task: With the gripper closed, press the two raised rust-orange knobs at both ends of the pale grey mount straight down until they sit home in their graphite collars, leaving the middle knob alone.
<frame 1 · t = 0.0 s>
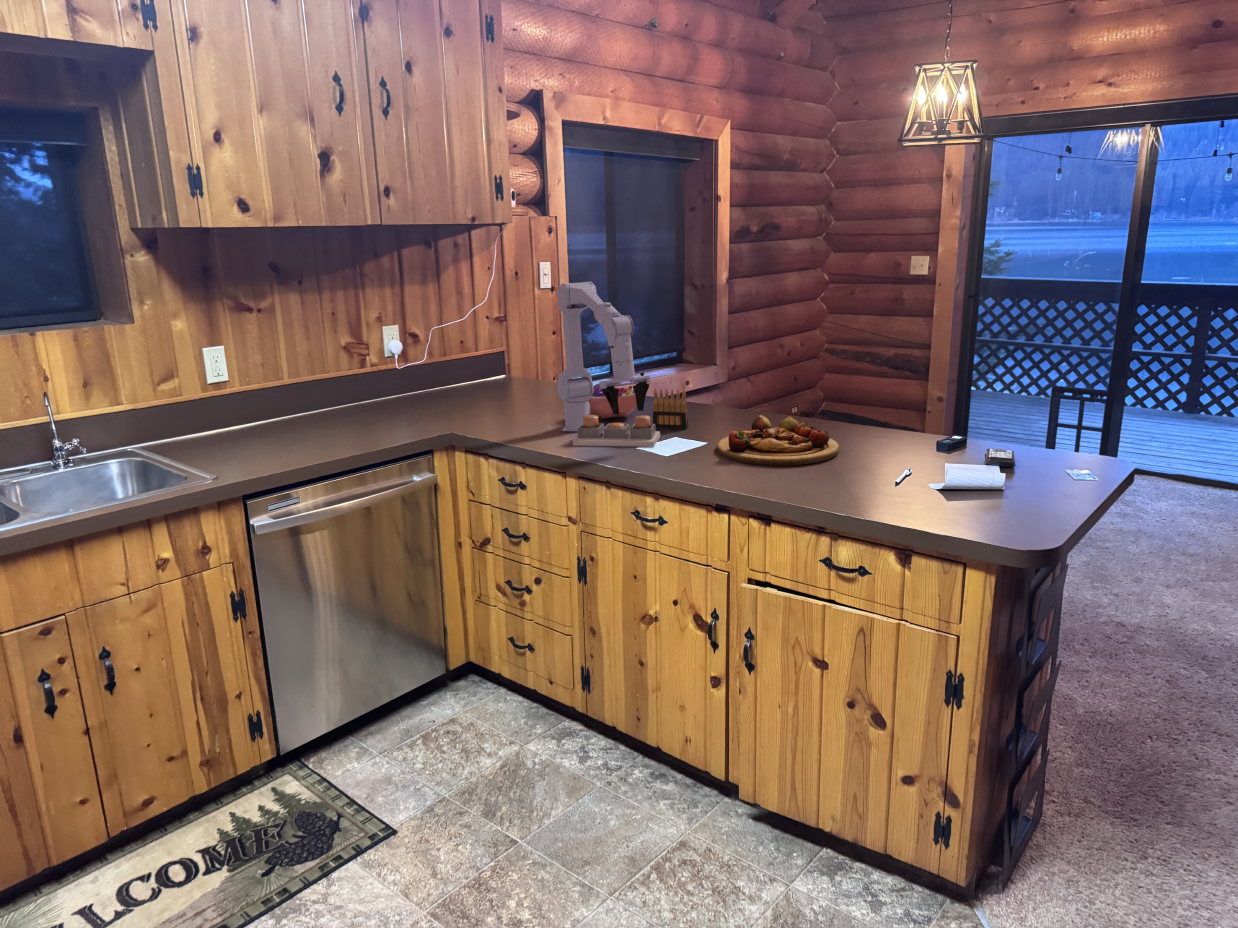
hand: (628, 412, 231), 11 cm above the worktop, tool pointing down, fingers open, 7 cm apart
wooden plate with food: (777, 452, 229), on the worktop
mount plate: (617, 440, 245), on the worktop
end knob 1: (642, 422, 242), point 5 cm above the worktop, slide at 2.2 cm
cell model: (610, 418, 275), on the worktop
ammunition clip: (670, 428, 259), on the worktop
end knob 2: (590, 422, 245), point 5 cm above the worktop, slide at 2.2 cm
centre knob: (616, 429, 244), point 3 cm above the worktop, slide at 0.0 cm
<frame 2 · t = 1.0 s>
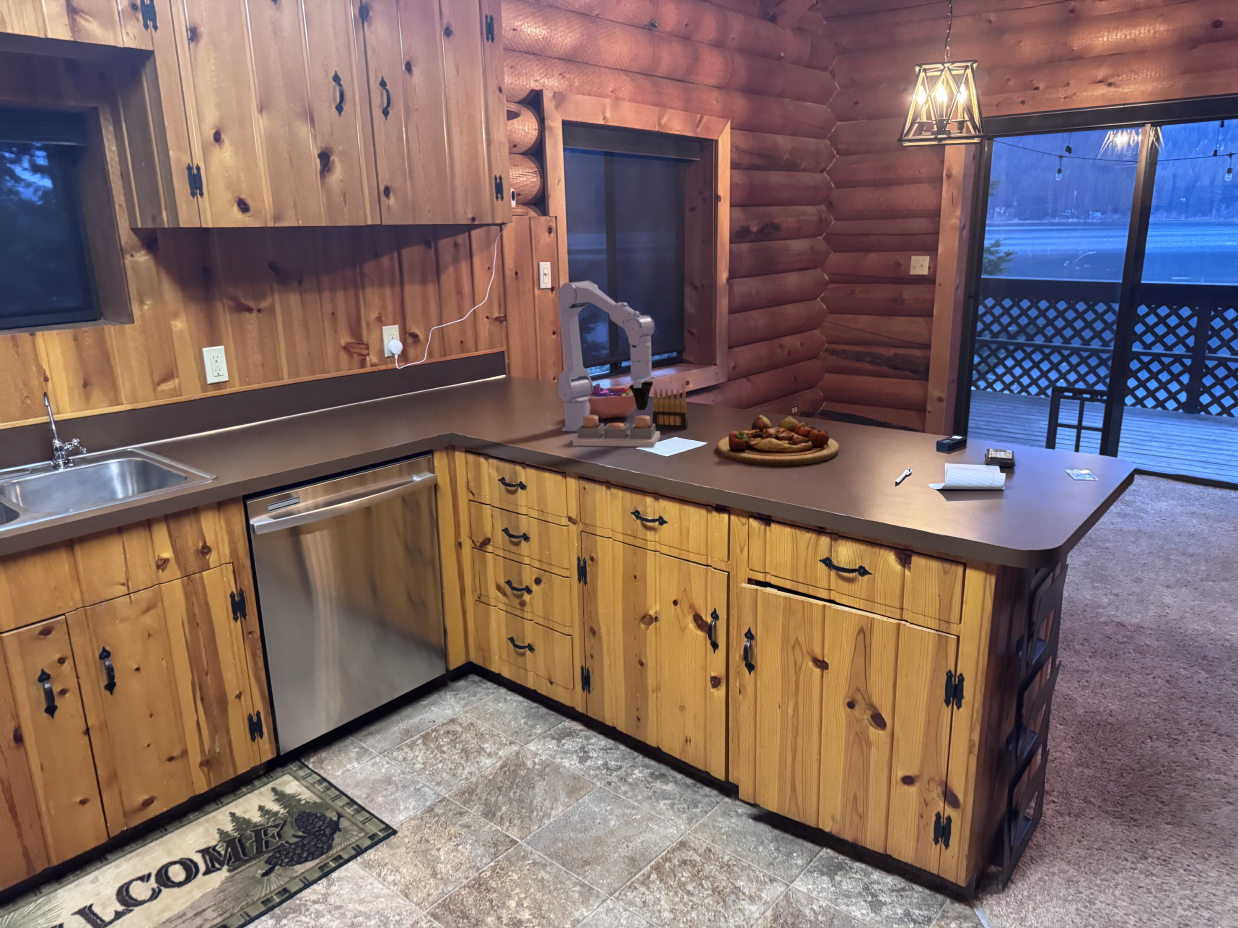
hand: (642, 408, 241), 9 cm above the worktop, tool pointing down, fingers closed
nothing on the worktop moved.
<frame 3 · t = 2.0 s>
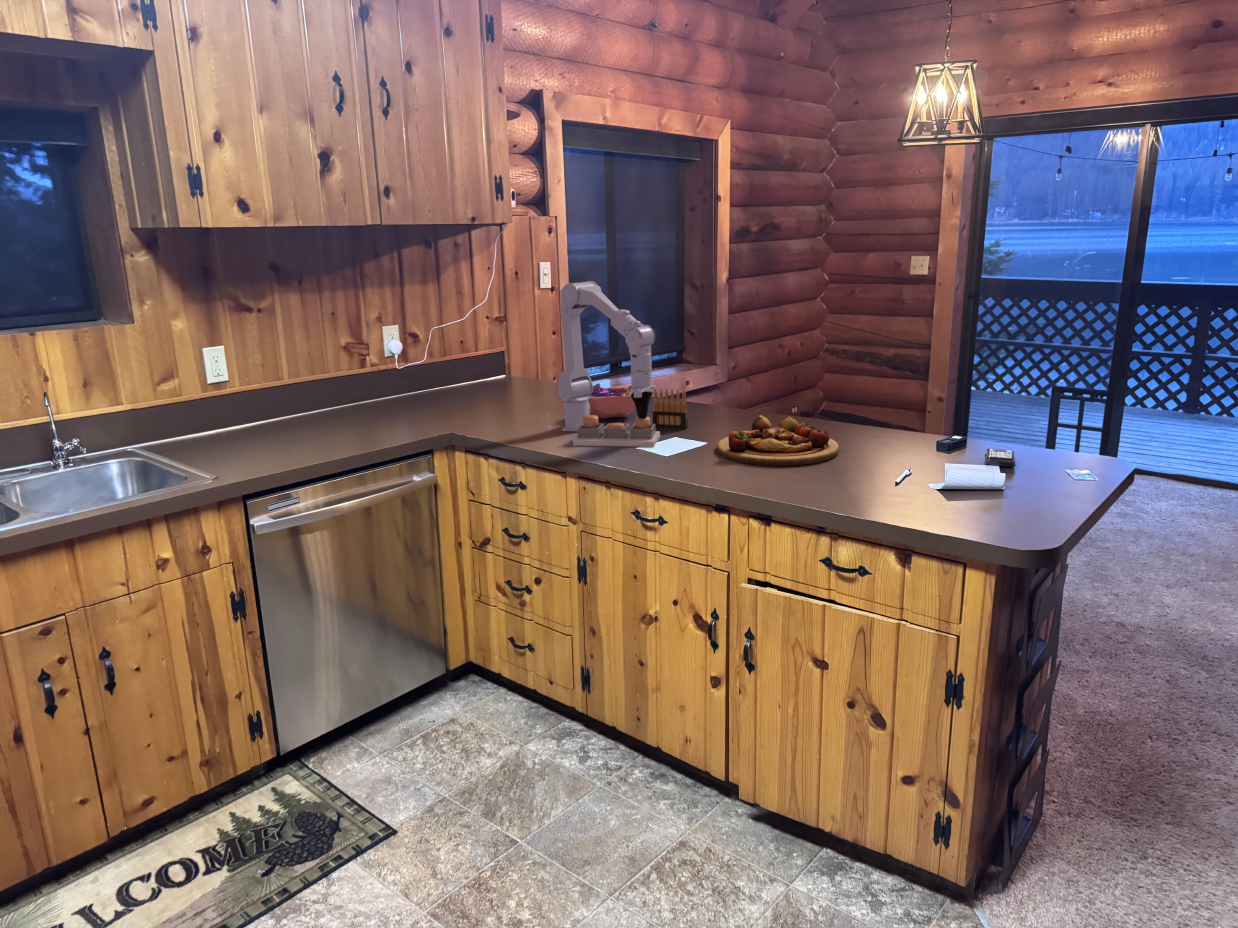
hand: (642, 418, 242), 7 cm above the worktop, tool pointing down, fingers closed, pressing on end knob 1
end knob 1: (642, 423, 242), point 5 cm above the worktop, slide at 1.9 cm, touching gripper
everything else where it was.
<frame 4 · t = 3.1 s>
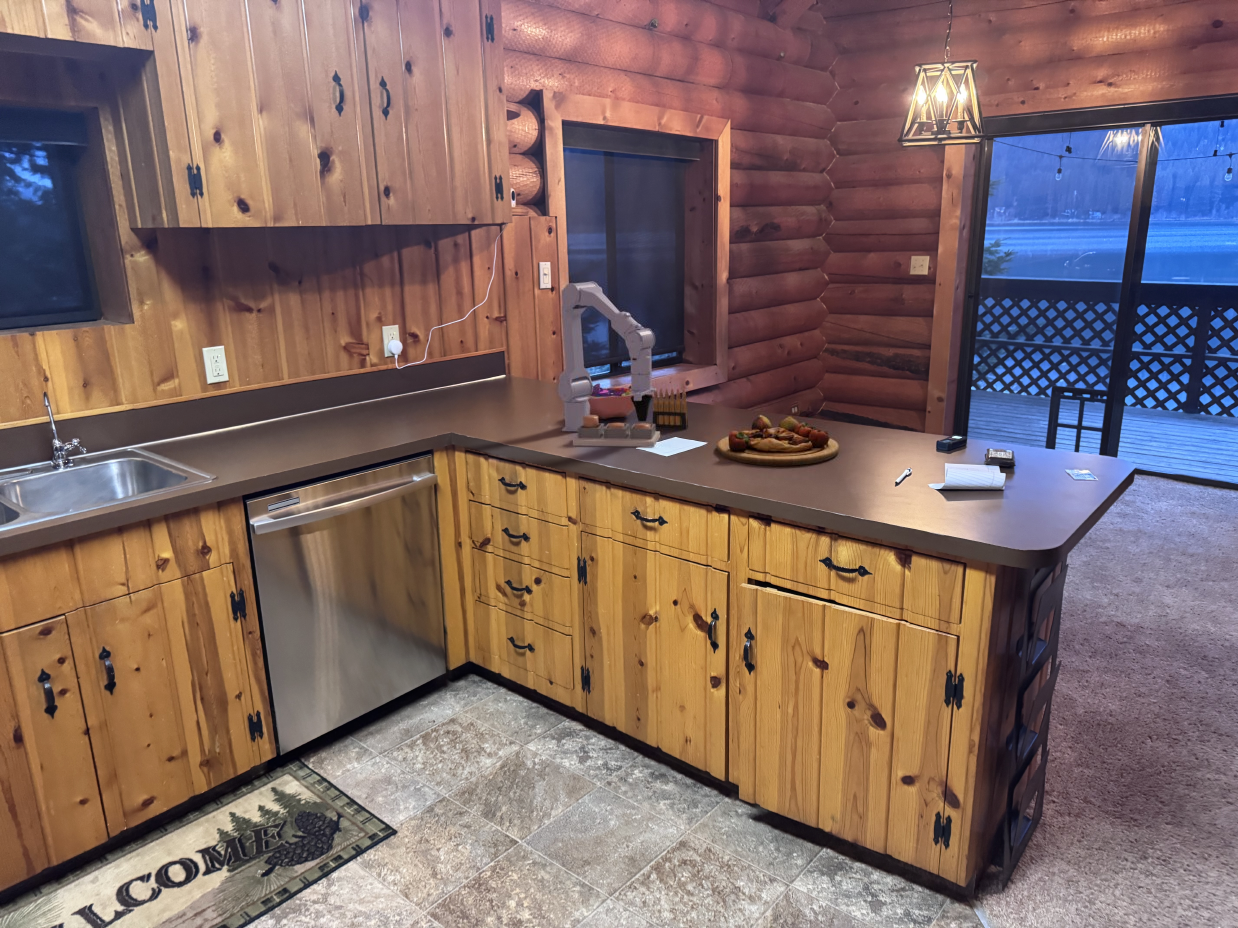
hand: (642, 421, 242), 6 cm above the worktop, tool pointing down, fingers closed
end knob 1: (642, 430, 243), point 3 cm above the worktop, slide at -0.1 cm, touching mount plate
everything else where it was.
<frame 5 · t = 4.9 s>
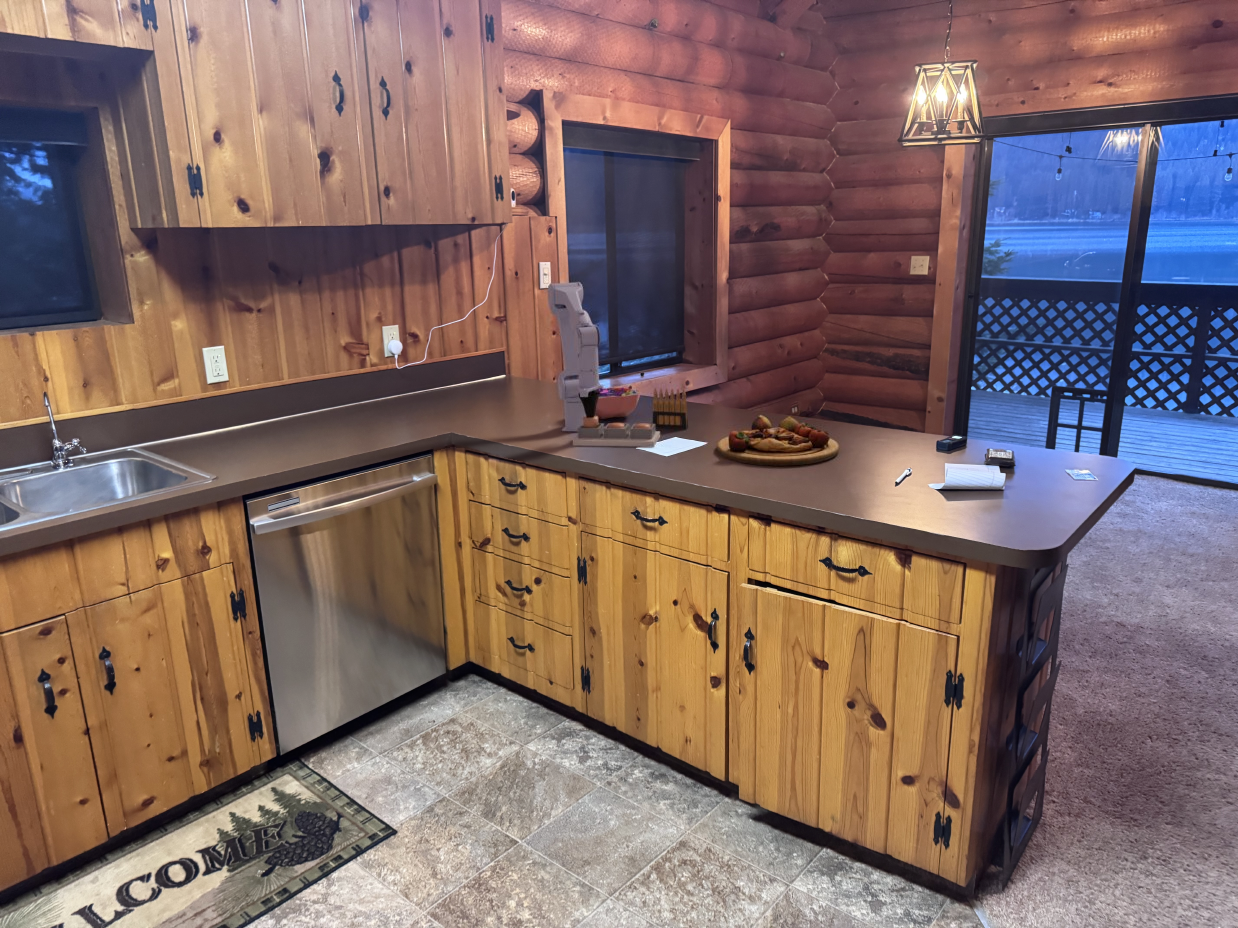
hand: (590, 417, 244), 7 cm above the worktop, tool pointing down, fingers closed, pressing on end knob 2
end knob 2: (590, 422, 245), point 5 cm above the worktop, slide at 2.0 cm, touching gripper
everything else where it was.
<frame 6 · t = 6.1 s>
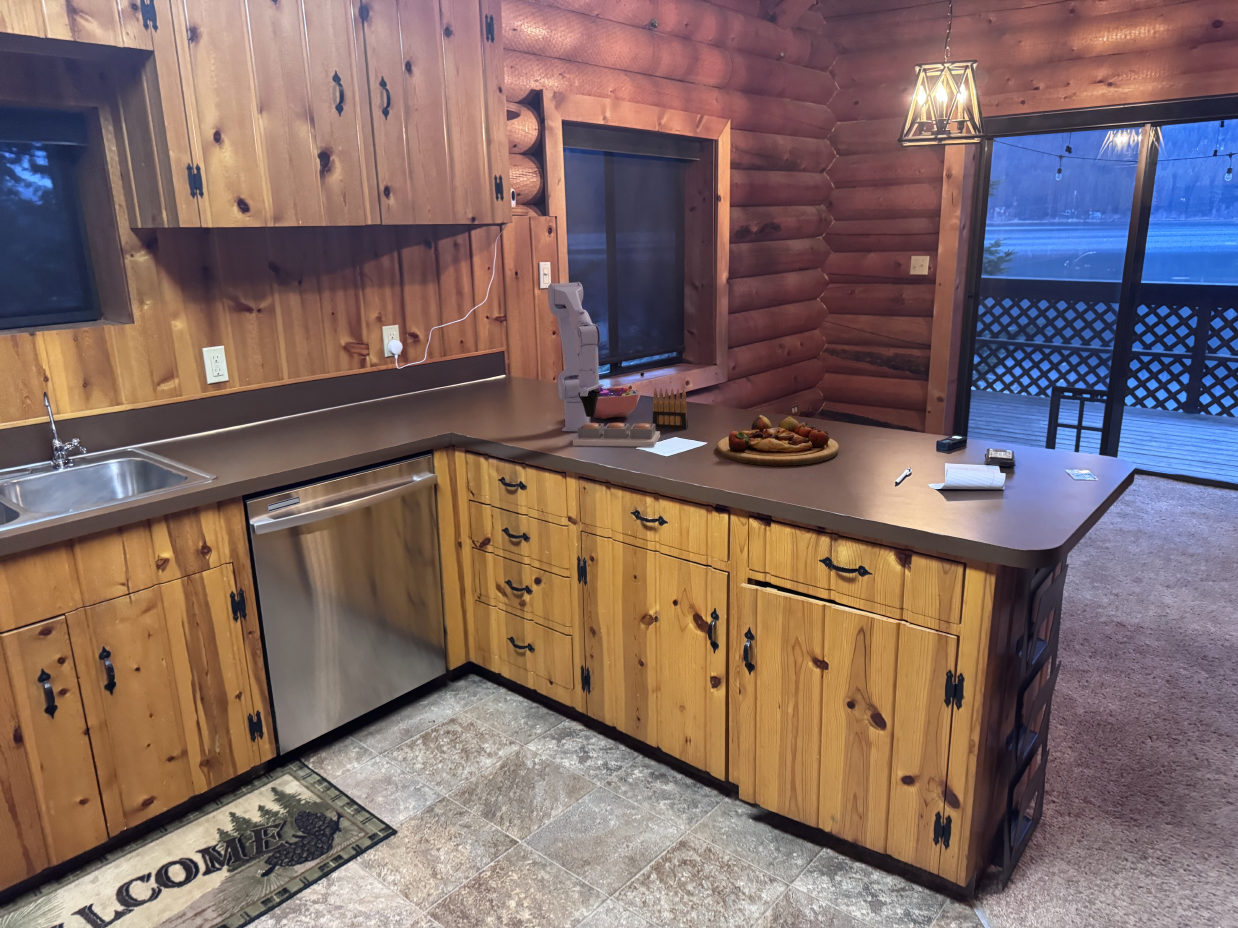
hand: (590, 416, 244), 7 cm above the worktop, tool pointing down, fingers closed
end knob 2: (591, 430, 245), point 3 cm above the worktop, slide at -0.1 cm, touching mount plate
everything else where it was.
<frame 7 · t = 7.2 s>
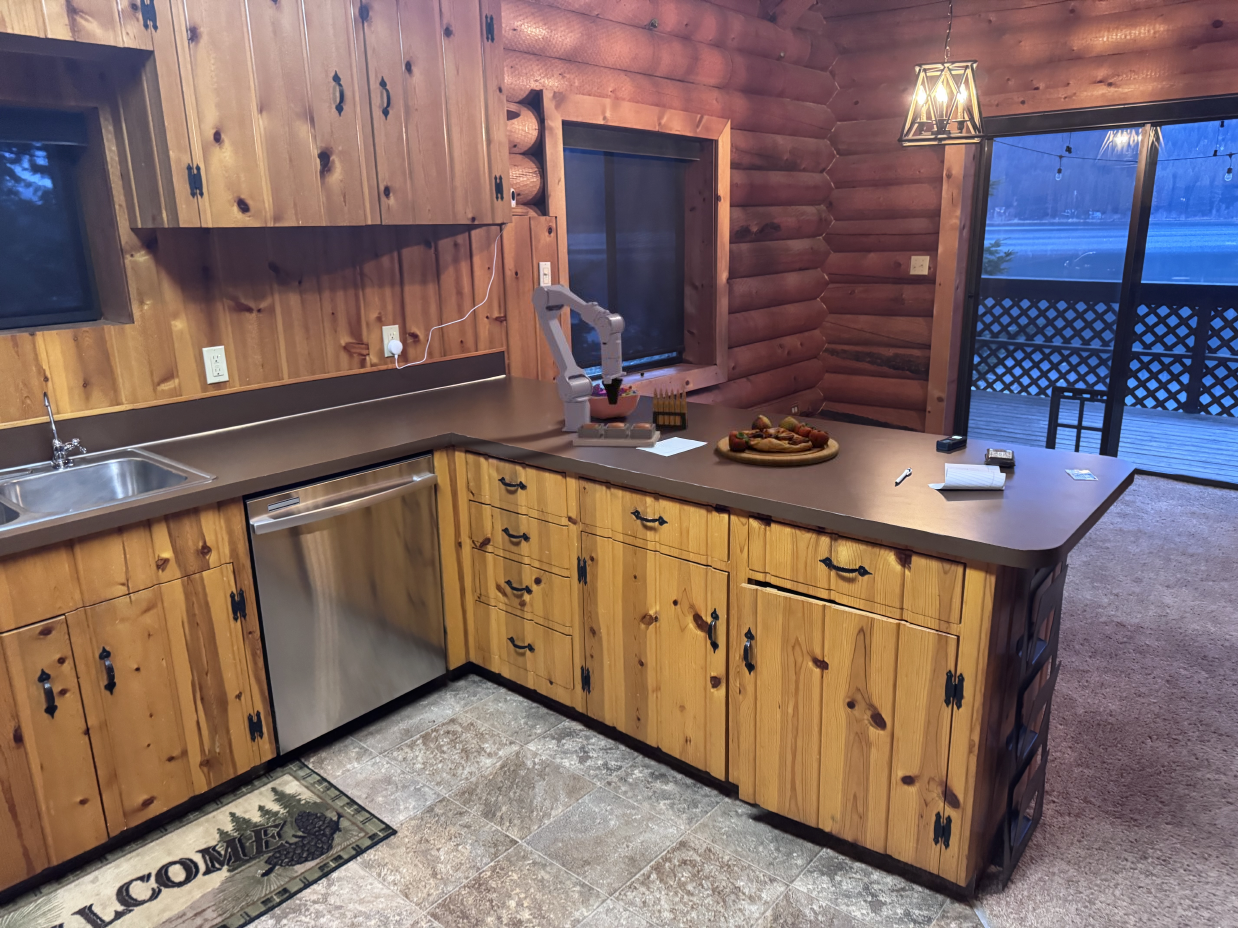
hand: (613, 404, 248), 9 cm above the worktop, tool pointing down, fingers closed
nothing on the worktop moved.
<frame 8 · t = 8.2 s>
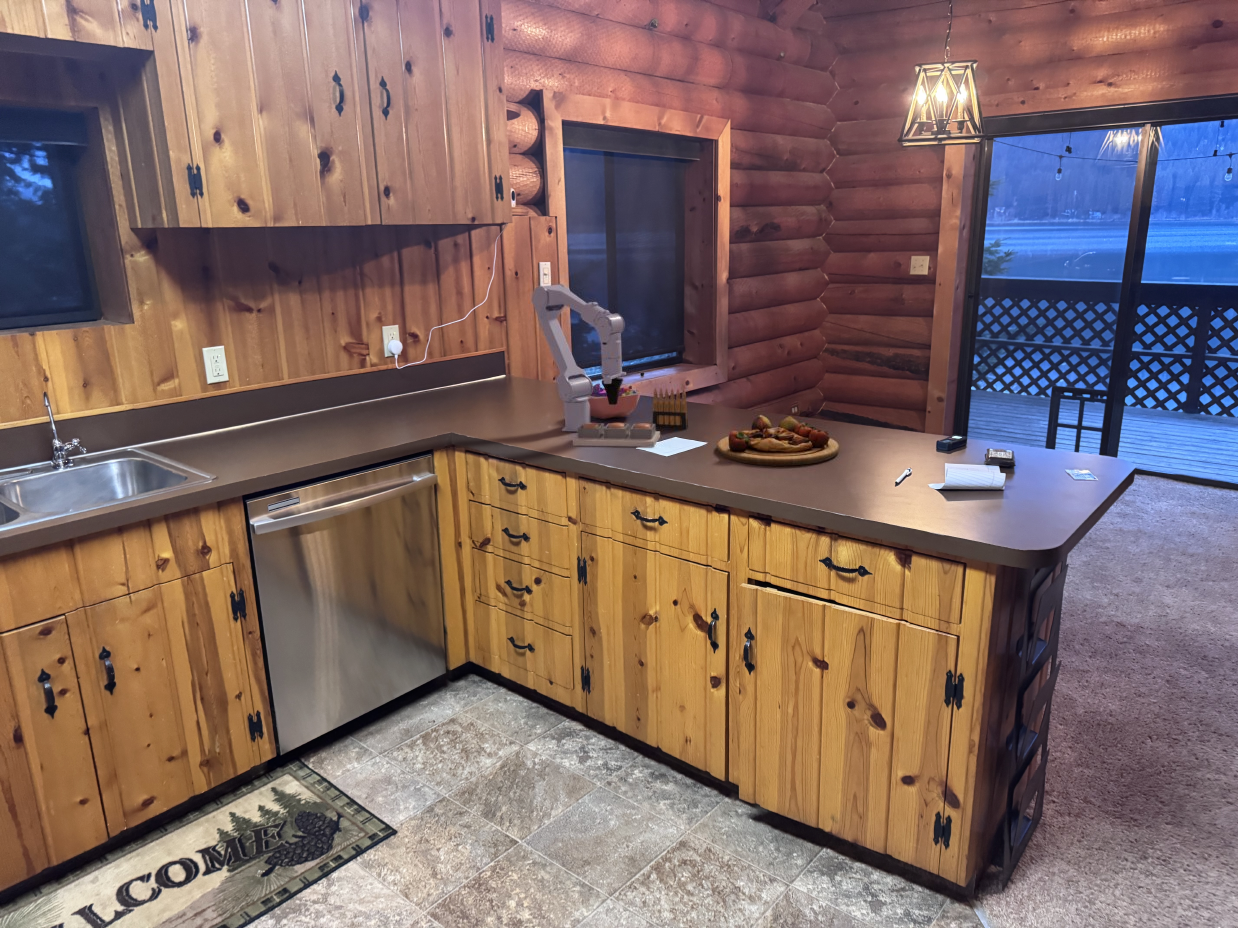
hand: (613, 404, 248), 9 cm above the worktop, tool pointing down, fingers closed
nothing on the worktop moved.
at the end: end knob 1 slide at -0.1 cm; end knob 2 slide at -0.1 cm; centre knob slide at 0.0 cm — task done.
